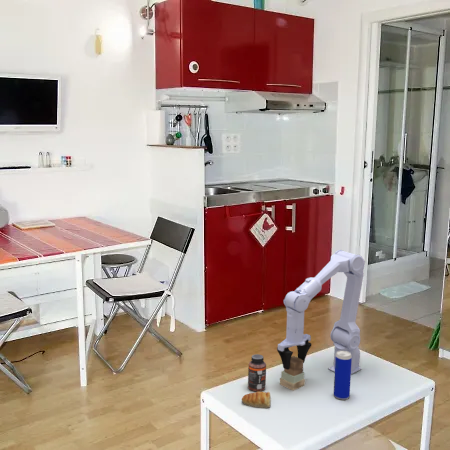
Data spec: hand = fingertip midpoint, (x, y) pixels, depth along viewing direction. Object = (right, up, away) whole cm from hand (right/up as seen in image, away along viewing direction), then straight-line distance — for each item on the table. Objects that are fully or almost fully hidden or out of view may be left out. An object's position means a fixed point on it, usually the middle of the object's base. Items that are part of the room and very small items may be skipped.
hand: (293, 365), depth 185 cm
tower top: (0, -5, +1) cm, 5 cm away
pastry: (-13, -10, -11) cm, 19 cm away
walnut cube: (0, -2, +1) cm, 3 cm away
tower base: (0, -7, +2) cm, 8 cm away
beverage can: (+15, -9, -6) cm, 18 cm away
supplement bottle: (-13, -8, -1) cm, 15 cm away
